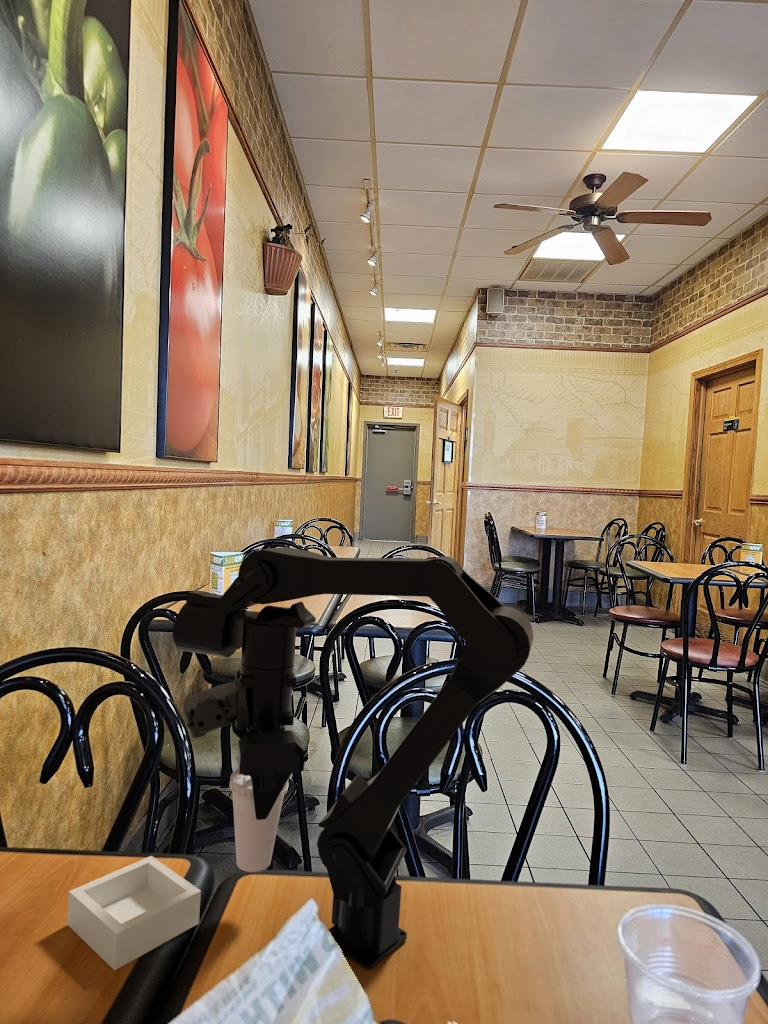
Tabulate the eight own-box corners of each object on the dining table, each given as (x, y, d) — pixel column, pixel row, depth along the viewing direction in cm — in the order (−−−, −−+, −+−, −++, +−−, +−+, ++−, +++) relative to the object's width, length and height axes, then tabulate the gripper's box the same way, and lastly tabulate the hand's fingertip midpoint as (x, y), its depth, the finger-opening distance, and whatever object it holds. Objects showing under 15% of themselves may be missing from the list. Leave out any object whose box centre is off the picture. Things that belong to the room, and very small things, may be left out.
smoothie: (211, 865, 70) (219, 739, 69) (249, 838, 76) (258, 721, 75) (258, 887, 67) (267, 755, 66) (294, 857, 73) (303, 735, 72)
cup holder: (198, 923, 68) (200, 890, 68) (114, 970, 61) (116, 933, 61) (149, 885, 74) (151, 855, 74) (67, 924, 67) (68, 891, 67)
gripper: (190, 642, 77) (182, 772, 78) (190, 689, 59) (179, 858, 60) (284, 642, 80) (276, 767, 81) (310, 687, 63) (299, 847, 63)
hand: (258, 804), depth 71 cm, fingers closed on smoothie, 6 cm apart
